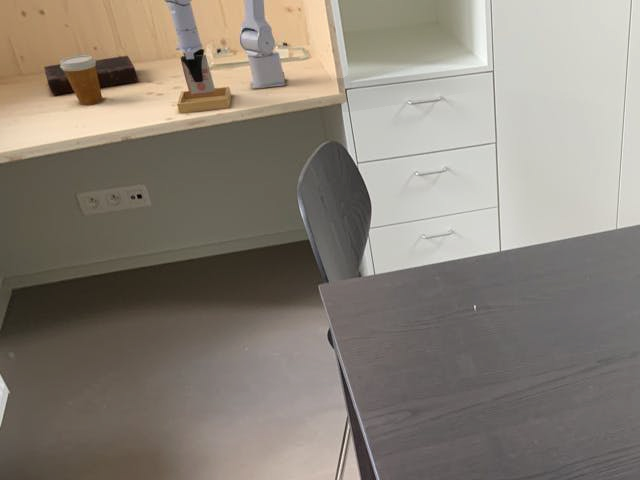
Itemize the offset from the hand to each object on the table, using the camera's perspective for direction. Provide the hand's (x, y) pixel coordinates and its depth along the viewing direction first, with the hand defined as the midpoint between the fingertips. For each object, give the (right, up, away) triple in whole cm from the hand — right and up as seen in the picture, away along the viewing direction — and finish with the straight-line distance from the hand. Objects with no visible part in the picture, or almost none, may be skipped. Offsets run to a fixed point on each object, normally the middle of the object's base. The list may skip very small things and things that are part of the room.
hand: (199, 79), depth 223 cm
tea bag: (0, -3, +2) cm, 4 cm away
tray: (0, -5, +4) cm, 7 cm away
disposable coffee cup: (-36, -3, +10) cm, 38 cm away
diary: (-44, +9, +27) cm, 53 cm away
